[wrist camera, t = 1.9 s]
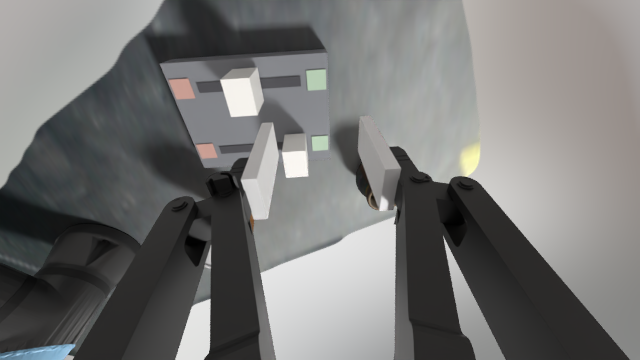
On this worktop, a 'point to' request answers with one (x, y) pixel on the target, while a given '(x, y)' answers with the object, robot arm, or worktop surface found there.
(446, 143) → the worktop surface
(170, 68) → the panel
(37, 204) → the worktop surface
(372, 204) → the mate gourd
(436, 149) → the worktop surface
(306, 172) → the block
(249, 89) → the block
